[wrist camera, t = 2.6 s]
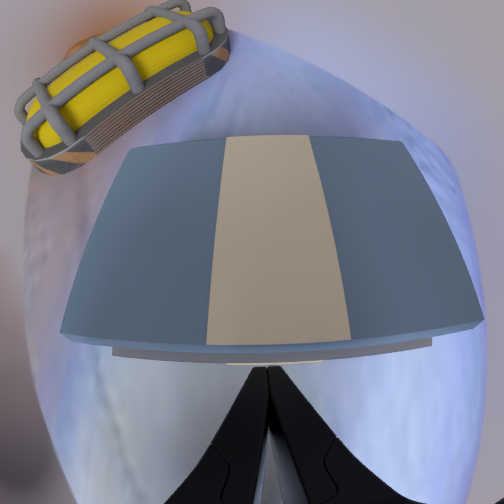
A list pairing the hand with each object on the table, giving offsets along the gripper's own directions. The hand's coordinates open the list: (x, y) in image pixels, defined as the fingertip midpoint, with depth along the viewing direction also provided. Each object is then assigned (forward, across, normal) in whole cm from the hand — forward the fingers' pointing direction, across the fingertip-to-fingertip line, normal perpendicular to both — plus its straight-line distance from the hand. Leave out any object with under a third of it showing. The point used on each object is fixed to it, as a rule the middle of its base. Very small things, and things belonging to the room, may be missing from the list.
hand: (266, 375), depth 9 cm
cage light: (+30, +16, -15) cm, 37 cm away
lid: (+7, -1, -3) cm, 8 cm away
